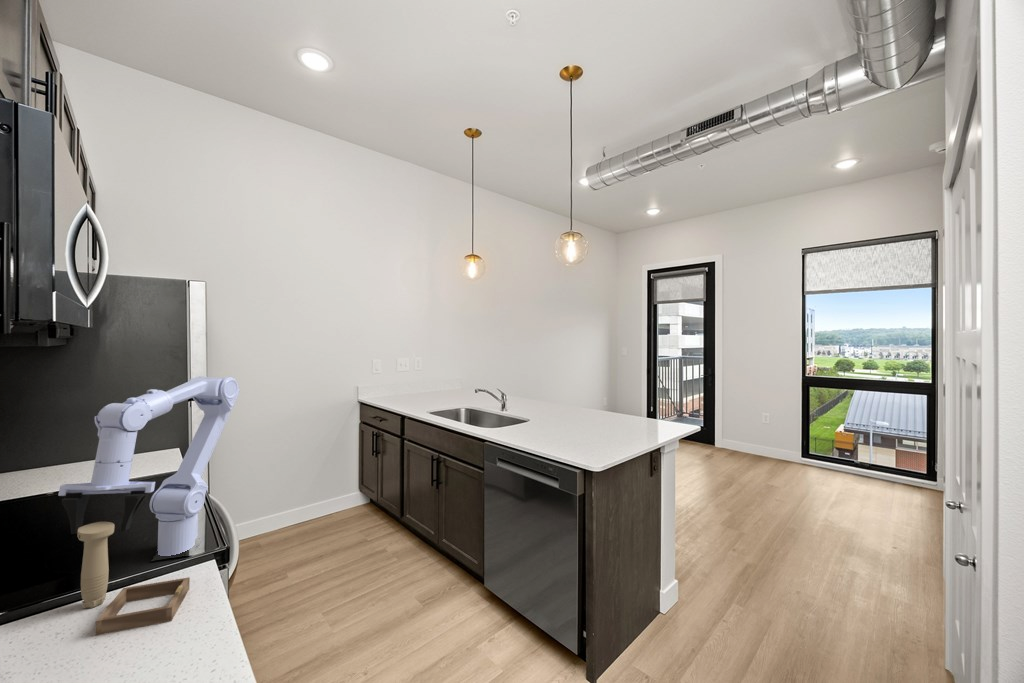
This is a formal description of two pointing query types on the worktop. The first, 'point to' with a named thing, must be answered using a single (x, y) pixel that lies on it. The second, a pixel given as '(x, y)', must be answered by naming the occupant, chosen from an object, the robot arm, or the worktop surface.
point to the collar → (146, 617)
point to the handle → (94, 562)
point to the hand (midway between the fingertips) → (101, 531)
